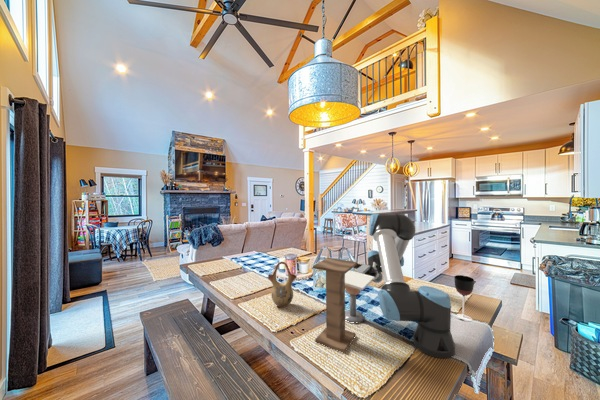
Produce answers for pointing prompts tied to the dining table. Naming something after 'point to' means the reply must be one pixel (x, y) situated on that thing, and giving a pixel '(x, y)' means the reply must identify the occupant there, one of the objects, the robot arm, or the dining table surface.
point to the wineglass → (464, 289)
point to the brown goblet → (353, 306)
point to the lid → (358, 278)
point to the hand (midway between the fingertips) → (361, 262)
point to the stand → (335, 304)
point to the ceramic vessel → (282, 288)
